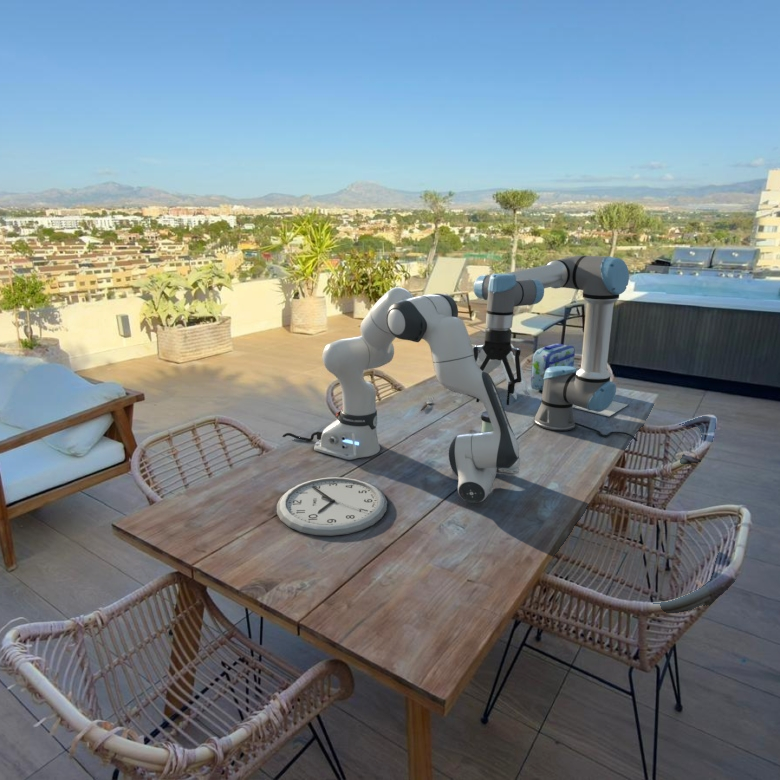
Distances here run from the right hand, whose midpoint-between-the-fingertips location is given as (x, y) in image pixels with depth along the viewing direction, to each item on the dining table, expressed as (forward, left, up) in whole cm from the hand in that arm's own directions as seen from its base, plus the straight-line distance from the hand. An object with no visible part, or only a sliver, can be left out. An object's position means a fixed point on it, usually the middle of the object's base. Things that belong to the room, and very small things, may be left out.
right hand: (492, 402), depth 159 cm
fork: (+22, -58, -23) cm, 66 cm away
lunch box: (-36, -95, -23) cm, 104 cm away
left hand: (0, -1, -16) cm, 16 cm away
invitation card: (-53, -70, -23) cm, 91 cm away
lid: (0, 0, -4) cm, 4 cm away
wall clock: (+43, +29, -23) cm, 57 cm away
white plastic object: (-1, -82, -23) cm, 85 cm away
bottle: (0, 0, -23) cm, 23 cm away
